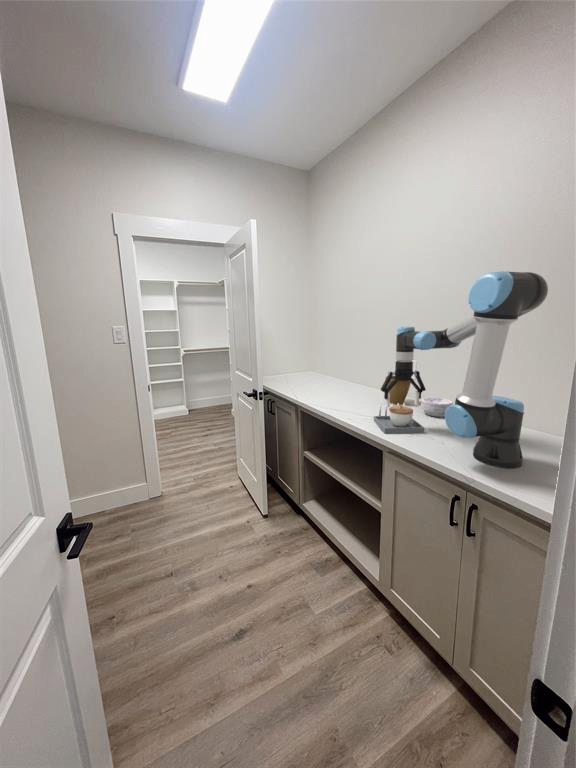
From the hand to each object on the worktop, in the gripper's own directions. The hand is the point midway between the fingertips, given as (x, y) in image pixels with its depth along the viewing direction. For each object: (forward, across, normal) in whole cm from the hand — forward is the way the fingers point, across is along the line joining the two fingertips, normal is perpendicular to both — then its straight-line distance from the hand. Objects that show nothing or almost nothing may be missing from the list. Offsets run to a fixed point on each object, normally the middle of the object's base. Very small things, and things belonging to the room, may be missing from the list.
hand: (402, 405), depth 145 cm
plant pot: (+10, -13, -43) cm, 46 cm away
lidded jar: (+10, 0, -1) cm, 10 cm away
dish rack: (+11, +1, -2) cm, 11 cm away
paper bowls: (+11, -26, -20) cm, 34 cm away
